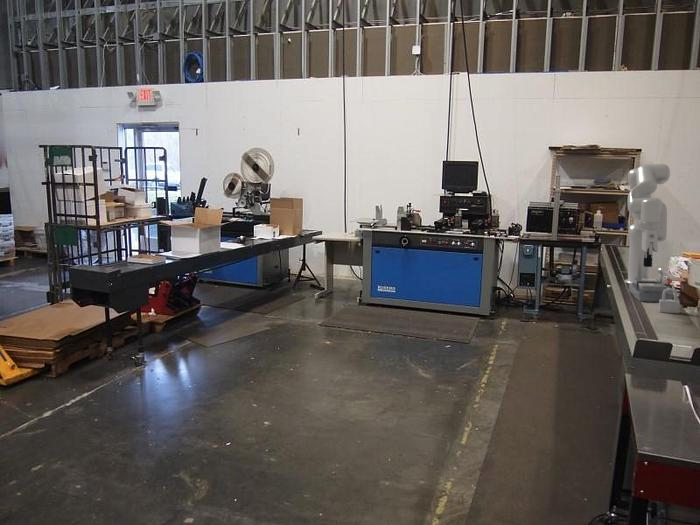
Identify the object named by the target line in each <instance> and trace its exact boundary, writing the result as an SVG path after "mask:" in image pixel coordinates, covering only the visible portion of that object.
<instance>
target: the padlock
mask: <svg viewBox="0 0 700 525" xmlns="http://www.w3.org/2000/svg"><path fill="white" fill-rule="evenodd" d="M667 291H669V292H671V293H672V292H673V294H674V295H673V299H672V300H667V299H666V300H665V295H666V292H667ZM680 303H681V302H680V300H679V299H678V291H677V290H676V289H675V288H668V287H667V289H665V290H664V291H663V294H662V299H660V300H659V302H658V305H659V306H658V311H659V313H666V314H667V313H669V314H680V305H681V304H680Z"/></svg>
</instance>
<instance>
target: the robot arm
mask: <svg viewBox="0 0 700 525" xmlns="http://www.w3.org/2000/svg"><path fill="white" fill-rule="evenodd" d="M670 176H671V170H670V167H669V166H668V165H667V164H665V163H653V164H652V163H651V164H642V165H640V166H638V168H637V167H636V168H632V169H631V170H629V171H628V173H627V182H628V186H629V188H630V190H629V192H628V195H627V211H628V212H629V213H630V214H631V217H632V219H633V220H635V221H640V222H638V223H637V222H636V223H633V224H631V225H630V226H629V227H628V230H627V231H628V232H627V233H628V234H627V235H628V243H629V246H628V247H629V249H628V250H629V251H628V271H627V278H626V279H625V280H624V283H625V284H627V285H629V282H632V283H634V278H638V279H650V278H649V275H650V268H652V267H653V255H654V253H653V252H655V253H657V252H658V243H659V242H665V240H666V238H667V233H668V209H667V208H668V207H667V205H666V204H665V203H664V202H663V201H662V199H661V198H659V197H651V196H652V194H653V193H655V192H656V191H657V189H658V185H663V184H665V183H667V182H668V181H669V179H670Z"/></svg>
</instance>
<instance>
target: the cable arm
mask: <svg viewBox="0 0 700 525" xmlns="http://www.w3.org/2000/svg"><path fill="white" fill-rule="evenodd" d="M657 269H658V270H657V273H658V280H659V281H660V282H661V284H664V285H665V277H667V278H668V279H669V280H671V281H675V282H676V281H678V278H677V277H676V276H674V275H673V274H672V273H670V272H669V271H667V268H666V267H665V268H664V267H658V268H657Z"/></svg>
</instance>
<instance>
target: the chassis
mask: <svg viewBox="0 0 700 525" xmlns="http://www.w3.org/2000/svg"><path fill="white" fill-rule="evenodd" d="M665 289H668V286H666V284H665V283H664V284H661V282H660V281H659V278H649V279H638V278H634V283H632V282H629V284H628V291H629V292H630V293H631V294H632V295H633V297H635V299H636V298H637V299H638V300H639V301H650V302H649V303H659V300H660V299H662V294H663V291H664V290H665ZM637 299H636V300H637ZM666 299H667V300H673V293H672V291H667V292H666V295H665V300H666ZM638 300H637V301H638ZM639 301H638V302H639Z"/></svg>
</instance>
